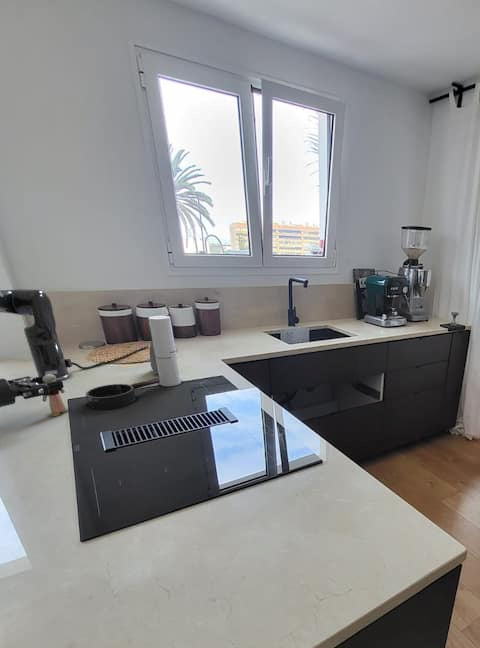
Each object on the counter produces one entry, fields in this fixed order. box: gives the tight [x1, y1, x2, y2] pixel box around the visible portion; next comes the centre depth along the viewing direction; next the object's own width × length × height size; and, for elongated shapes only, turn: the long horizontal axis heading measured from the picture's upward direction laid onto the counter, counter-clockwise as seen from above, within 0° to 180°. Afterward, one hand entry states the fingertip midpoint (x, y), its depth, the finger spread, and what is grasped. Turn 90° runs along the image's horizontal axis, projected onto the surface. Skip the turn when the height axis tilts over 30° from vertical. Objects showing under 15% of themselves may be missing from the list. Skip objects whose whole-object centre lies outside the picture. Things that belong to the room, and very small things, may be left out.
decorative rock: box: [148, 340, 159, 376], centre depth 159 cm, size 16×7×15 cm, turn 36°
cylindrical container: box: [147, 315, 182, 387], centre depth 146 cm, size 7×7×25 cm
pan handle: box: [129, 377, 160, 390], centre depth 140 cm, size 11×2×2 cm, turn 145°
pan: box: [85, 383, 136, 410], centre depth 132 cm, size 14×14×4 cm
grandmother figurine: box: [41, 374, 67, 417], centre depth 121 cm, size 8×4×13 cm, turn 5°
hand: (56, 381), depth 120 cm, fingers open, 8 cm apart
